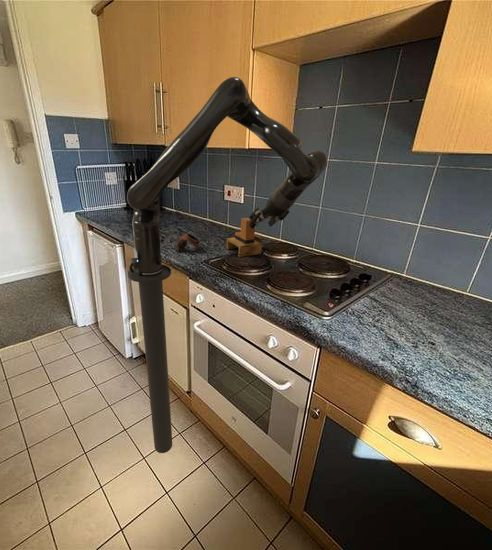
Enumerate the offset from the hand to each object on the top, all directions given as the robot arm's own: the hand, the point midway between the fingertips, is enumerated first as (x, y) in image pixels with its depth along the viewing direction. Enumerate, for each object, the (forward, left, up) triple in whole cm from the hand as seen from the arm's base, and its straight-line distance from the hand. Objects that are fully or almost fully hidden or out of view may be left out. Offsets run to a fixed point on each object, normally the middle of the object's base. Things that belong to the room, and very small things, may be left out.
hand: (260, 225), depth 115 cm
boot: (+2, +15, -10) cm, 18 cm away
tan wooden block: (+2, +15, -15) cm, 21 cm away
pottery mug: (-21, +26, -15) cm, 37 cm away
